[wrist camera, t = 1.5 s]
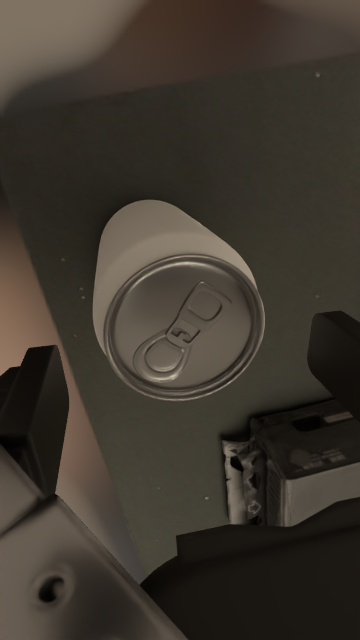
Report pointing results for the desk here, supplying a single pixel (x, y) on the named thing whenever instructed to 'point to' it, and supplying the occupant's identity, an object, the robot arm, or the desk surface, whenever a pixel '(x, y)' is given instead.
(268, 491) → the vintage computer
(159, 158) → the desk surface
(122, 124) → the desk surface
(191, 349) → the can
